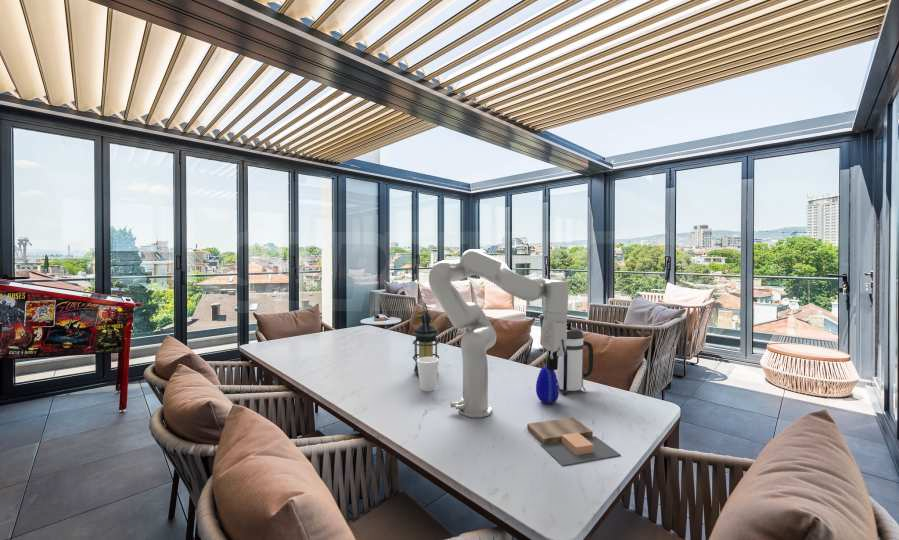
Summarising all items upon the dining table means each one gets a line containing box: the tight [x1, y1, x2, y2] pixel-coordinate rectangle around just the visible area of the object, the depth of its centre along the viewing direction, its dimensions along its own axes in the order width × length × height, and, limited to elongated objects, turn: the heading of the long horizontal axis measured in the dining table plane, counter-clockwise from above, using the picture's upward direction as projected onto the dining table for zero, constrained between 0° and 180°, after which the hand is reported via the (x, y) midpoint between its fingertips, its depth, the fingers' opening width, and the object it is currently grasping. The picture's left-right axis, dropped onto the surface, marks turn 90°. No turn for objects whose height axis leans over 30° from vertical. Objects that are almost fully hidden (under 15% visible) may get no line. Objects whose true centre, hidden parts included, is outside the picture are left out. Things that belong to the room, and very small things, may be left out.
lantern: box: [412, 302, 440, 375], centre depth 191 cm, size 14×13×35 cm
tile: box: [561, 433, 594, 455], centre depth 120 cm, size 6×8×2 cm
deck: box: [526, 417, 594, 445], centre depth 130 cm, size 18×11×2 cm, turn 106°
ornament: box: [535, 365, 561, 405], centre depth 156 cm, size 11×9×15 cm
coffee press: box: [554, 321, 594, 396], centre depth 170 cm, size 17×16×30 cm
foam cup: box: [417, 356, 440, 392], centre depth 170 cm, size 10×9×13 cm
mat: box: [540, 435, 621, 467], centre depth 119 cm, size 20×12×1 cm, turn 106°
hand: (552, 369), depth 132 cm, fingers closed
